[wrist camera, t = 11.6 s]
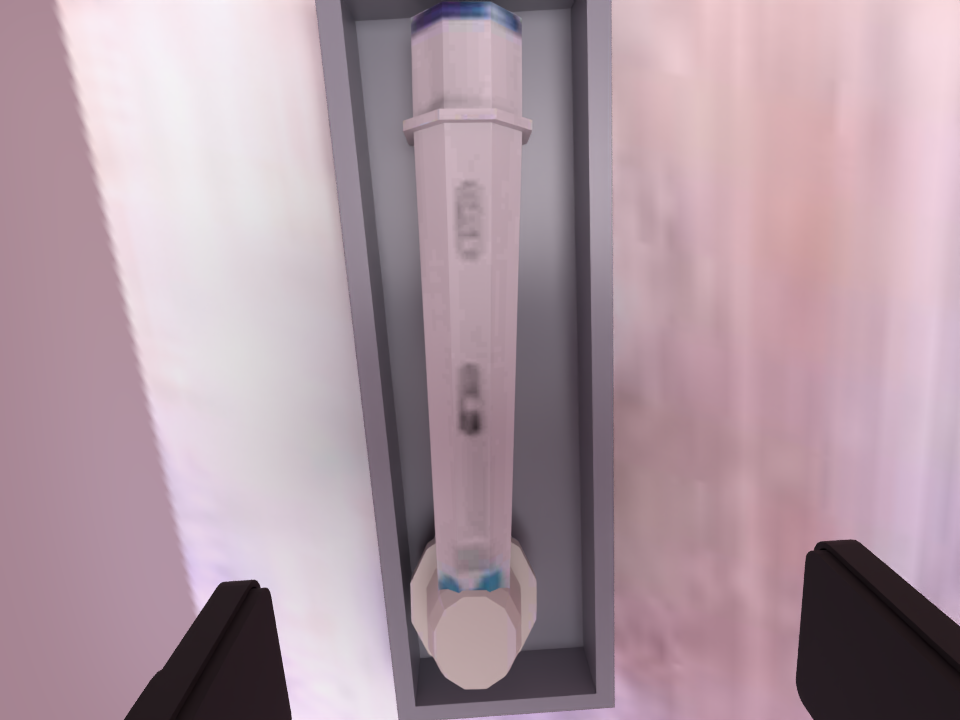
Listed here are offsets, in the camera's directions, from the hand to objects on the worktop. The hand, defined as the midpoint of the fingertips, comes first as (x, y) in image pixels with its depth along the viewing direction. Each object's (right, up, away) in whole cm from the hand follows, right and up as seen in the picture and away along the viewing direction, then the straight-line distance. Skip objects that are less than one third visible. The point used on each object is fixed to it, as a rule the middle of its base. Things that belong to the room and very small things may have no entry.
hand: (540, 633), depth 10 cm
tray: (-1, +4, +16) cm, 16 cm away
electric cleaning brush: (-1, +5, +15) cm, 16 cm away
